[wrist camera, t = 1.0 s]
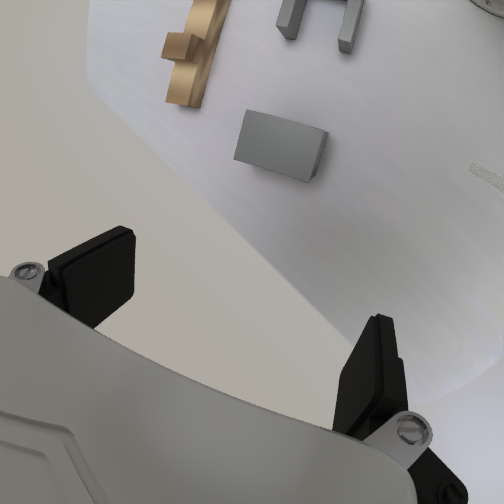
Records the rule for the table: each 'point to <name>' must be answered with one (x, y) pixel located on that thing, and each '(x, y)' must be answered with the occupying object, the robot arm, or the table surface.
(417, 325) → the table surface
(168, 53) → the slat
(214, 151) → the table surface
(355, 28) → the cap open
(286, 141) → the channel bracket
